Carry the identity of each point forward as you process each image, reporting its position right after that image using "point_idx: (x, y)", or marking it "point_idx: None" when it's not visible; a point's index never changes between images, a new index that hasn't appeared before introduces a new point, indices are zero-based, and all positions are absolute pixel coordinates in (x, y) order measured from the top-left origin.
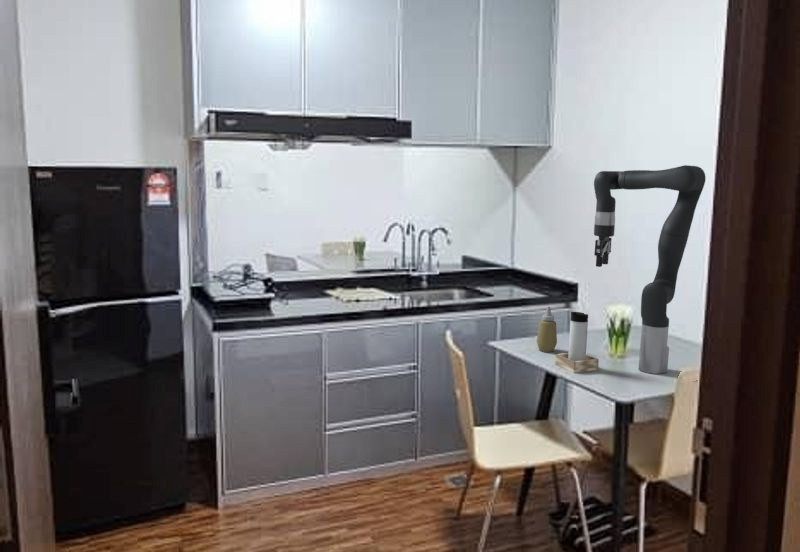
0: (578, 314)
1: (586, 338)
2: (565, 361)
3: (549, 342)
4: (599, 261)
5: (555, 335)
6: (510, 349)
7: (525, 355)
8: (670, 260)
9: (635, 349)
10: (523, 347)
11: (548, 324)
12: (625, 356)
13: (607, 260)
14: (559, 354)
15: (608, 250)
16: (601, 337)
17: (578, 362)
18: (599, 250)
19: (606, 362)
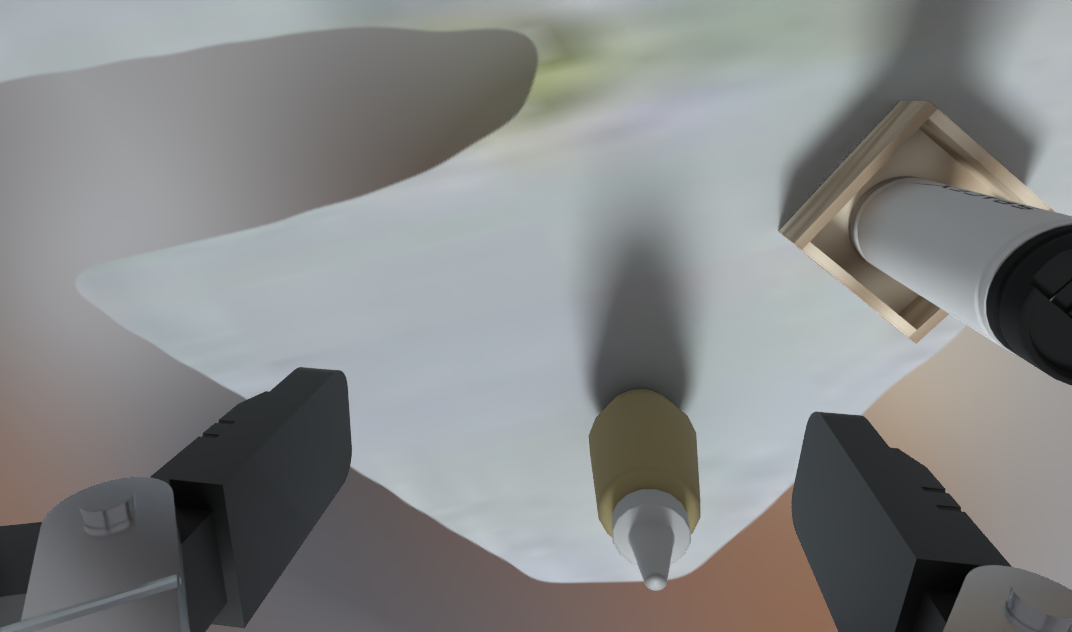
0: None
1: (1001, 199)
2: None
3: (689, 426)
4: (959, 531)
5: (657, 422)
6: (707, 556)
7: (781, 479)
8: None
9: (335, 4)
10: None
11: (698, 495)
12: (527, 22)
13: (303, 411)
14: (911, 325)
15: (185, 602)
16: (206, 240)
17: (1033, 195)
18: None
19: (717, 93)
